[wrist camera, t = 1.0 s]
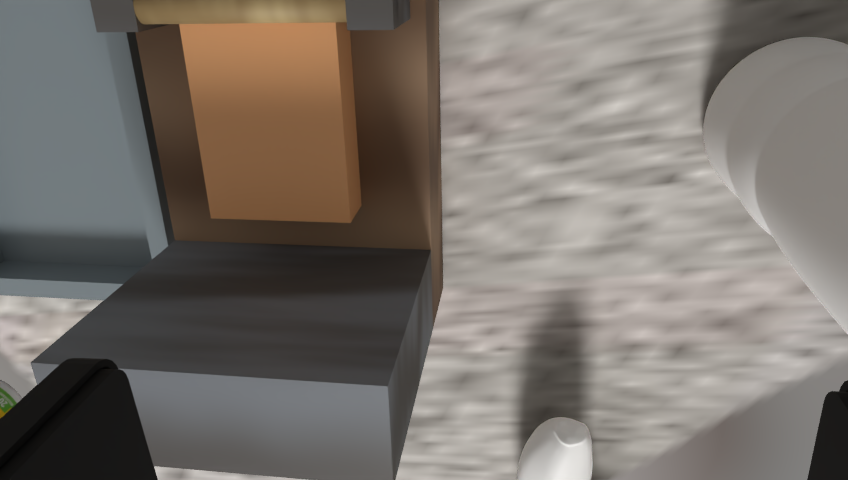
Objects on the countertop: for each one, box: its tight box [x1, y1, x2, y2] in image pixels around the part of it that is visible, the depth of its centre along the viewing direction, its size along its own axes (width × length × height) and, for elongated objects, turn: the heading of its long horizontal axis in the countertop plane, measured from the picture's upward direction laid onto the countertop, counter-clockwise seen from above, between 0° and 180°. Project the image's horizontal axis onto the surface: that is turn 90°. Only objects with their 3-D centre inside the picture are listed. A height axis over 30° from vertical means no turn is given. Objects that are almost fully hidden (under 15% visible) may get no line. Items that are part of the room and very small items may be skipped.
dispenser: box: [31, 0, 443, 480], centre depth 26 cm, size 16×12×14 cm
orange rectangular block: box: [179, 22, 362, 223], centre depth 25 cm, size 16×6×2 cm, turn 1°
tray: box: [0, 0, 175, 300], centre depth 32 cm, size 22×12×3 cm, turn 1°
